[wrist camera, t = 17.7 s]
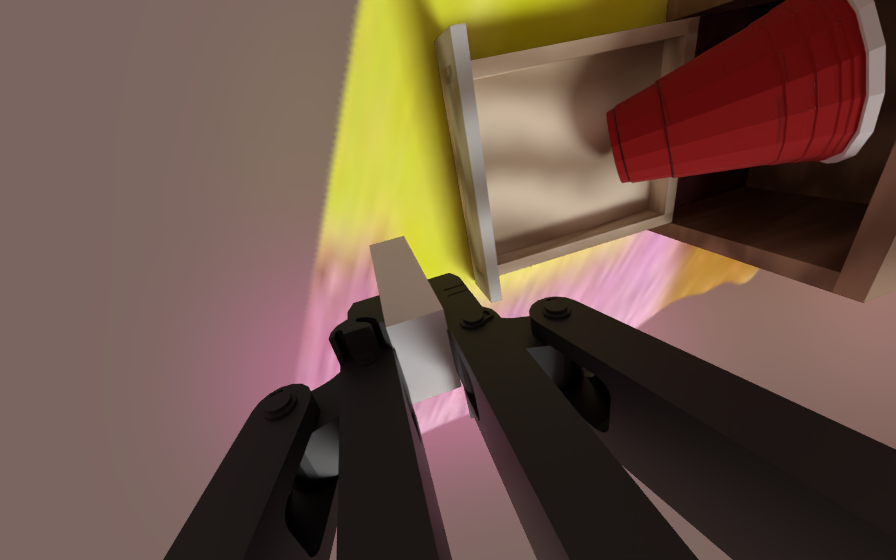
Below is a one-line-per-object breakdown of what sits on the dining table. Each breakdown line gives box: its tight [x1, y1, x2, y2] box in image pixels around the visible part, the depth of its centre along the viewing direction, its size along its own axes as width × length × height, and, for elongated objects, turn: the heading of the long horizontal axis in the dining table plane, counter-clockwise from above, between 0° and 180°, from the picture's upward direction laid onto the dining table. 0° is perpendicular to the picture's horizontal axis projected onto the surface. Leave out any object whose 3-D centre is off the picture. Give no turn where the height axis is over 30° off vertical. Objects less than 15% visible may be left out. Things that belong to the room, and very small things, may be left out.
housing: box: [648, 0, 896, 303], centre depth 24 cm, size 20×14×17 cm
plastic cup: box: [606, 0, 886, 183], centre depth 23 cm, size 11×11×12 cm
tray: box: [434, 16, 700, 303], centre depth 27 cm, size 20×20×4 cm
